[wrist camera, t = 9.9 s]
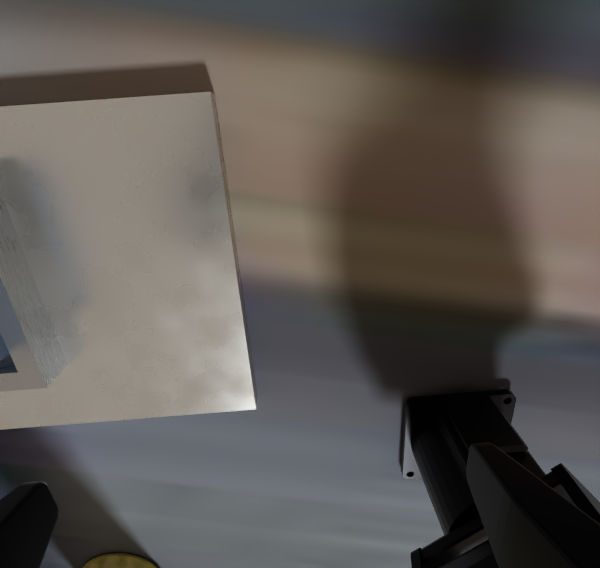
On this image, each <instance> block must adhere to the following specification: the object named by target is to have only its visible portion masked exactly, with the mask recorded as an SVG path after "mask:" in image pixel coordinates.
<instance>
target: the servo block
mask: <svg viewBox="0 0 600 568" xmlns="http://www.w3.org/2000/svg"><path fill="white" fill-rule="evenodd" d="M8 354H9V351H8V349H7V347H6V344H5V342H4V340H3V338H2V336H1V333H0V361H1V360H2V359H3V358H4V357H6V356H7V355H8Z"/></svg>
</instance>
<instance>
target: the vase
mask: <svg viewBox="0 0 600 568" xmlns="http://www.w3.org/2000/svg"><path fill="white" fill-rule="evenodd" d="M83 568H157V567H156V566H155V565H154V564H153V563H151V562H150V561H148V560H146V559H144V558H142V557H139V556H135V555H131V554H125V553H111V554H105V555H101V556H98V557H96V558H93V559H92V560H90V561H88V562H87V563H86V564H85V565H84V566H83Z"/></svg>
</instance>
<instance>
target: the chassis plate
mask: <svg viewBox="0 0 600 568" xmlns="http://www.w3.org/2000/svg"><path fill="white" fill-rule="evenodd" d="M0 333H1V336H2V338H3V340H4V342H5V344H6V347H7V349H8V351H9V354H8V355H7V356H6V357H4V358H3V359H2V360H1V361H0V430H3V429H16V428H28V427H41V426H53V425H65V424H78V423H90V422H103V421H115V420H128V419H140V418H153V417H165V416H178V415H190V414H203V413H215V412H228V411H240V410H253V409H256V406H257V392H256V384H255V377H254V370H253V363H252V356H251V349H250V342H249V335H248V328H247V321H246V314H245V307H244V300H243V292H242V285H241V278H240V271H239V264H238V257H237V250H236V243H235V236H234V229H233V222H232V215H231V208H230V201H229V193H228V186H227V179H226V172H225V165H224V158H223V151H222V144H221V137H220V130H219V123H218V116H217V109H216V102H215V94H214V93H212V92H198V93H184V94H170V95H156V96H142V97H128V98H114V99H100V100H85V101H71V102H57V103H43V104H29V105H15V106H1V107H0Z"/></svg>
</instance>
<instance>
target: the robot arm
mask: <svg viewBox="0 0 600 568" xmlns="http://www.w3.org/2000/svg"><path fill="white" fill-rule="evenodd" d="M515 403H516V397H515V396H514V395H513V393H512V392H511V391H509V390H496V391H483V392H471V393H459V394H446V395H434V396H421V397H412V398H409V399H408V400H407V401H406V402H405V411H404V428H403V444H402V461H401V472H402V475H403V477H404V478H405V479H407V480H413V479H423V481H424V484H425V486H426V489H427V492H428V494H429V497H430V499H431V502H432V504H433V507H434V510H435V512H436V515H437V517H438V520H439V522H440V525H441V528H442V530H443V533H444V536H442V537H441V538H439V539H437V540H436V541H434V542H432V543H431V544H429V545H427V546H426V547H424V548H422V549H421V548H418V549H416V550H415V551H413V552H411V563H412V568H600V502H599V501H598V500H597V499H596V498H595V497H594V496H593V495H592V494H591V493H590V492H589V491H588V490H587V489H586V488H585V487H584V486H583V485H582V484H581V483H580V482H579V481H578V480H577V479H576V478H575V477H574V476H573V475H572V474H571V473H570V472H569V471H568V470H567V469H566V468H565V467H564V466H563V464H561V463H560V464H558V465H557V466H555V467H553V468H552V469H551V470H552V471H551V472H550V473H548V474H545V473H544V472H543V470H542V469H541V468H540V466H539V465H538V464H537V462H536V461H535V460H534V458H533V457H532V456H531V454H530V453H529V451H528V447H527V445H526V444H525V443H524V441H523V440H522V439H521V437H520V436H519V435H518V433H517V432H516V431H515V429H514V428H513V427H512V425H511V421H512V417H513V412H514V407H515ZM414 405H416V406H415V407H412V406H414ZM58 511H59V510H58V505H57V503H56V501H55V499H54V497H53V495H52V493H51V491H50V489H49V487H48V485H47V483H45V482H44V481H36V482H26V483H23V484H21V485H19V486H18V487H16V488H15V489H14V490H12V491H11V492H10V493H9V494H7V495H6V496H5V497H3V498H2V499H1V500H0V568H40V566H41V563H42V560H43V557H44V555H45V552H46V549H47V546H48V544H49V541H50V538H51V535H52V533H53V530H54V527H55V524H56V522H57V518H58Z"/></svg>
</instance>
